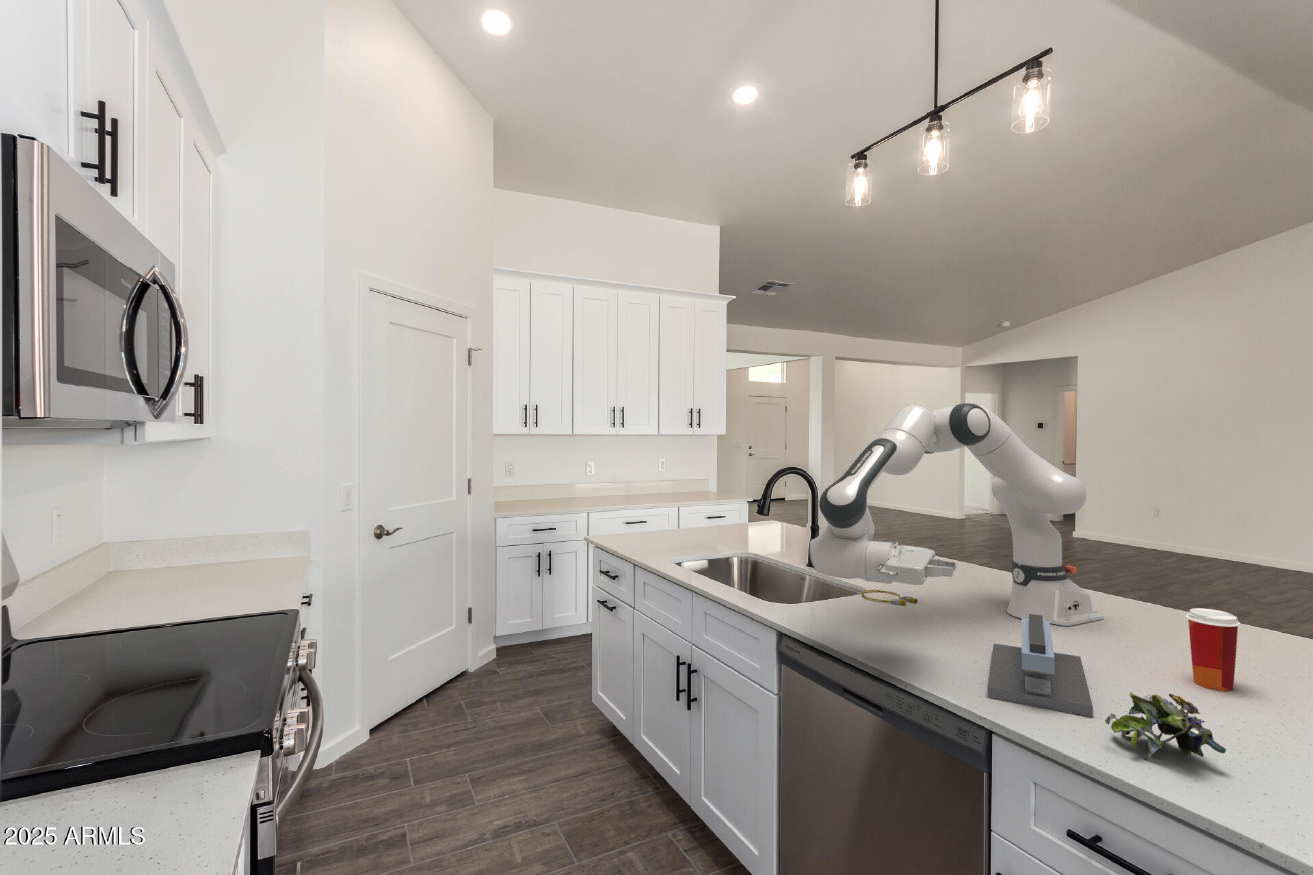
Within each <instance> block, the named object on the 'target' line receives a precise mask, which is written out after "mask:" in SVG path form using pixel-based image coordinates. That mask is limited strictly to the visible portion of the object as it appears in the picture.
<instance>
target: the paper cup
mask: <svg viewBox="0 0 1313 875" xmlns="http://www.w3.org/2000/svg"><path fill="white" fill-rule="evenodd" d="M1185 618H1186V619H1187V620H1188V632H1189V633H1188V634H1189V643H1190V644H1189V645H1190V655H1191V666H1192V667H1191V668H1192V676H1193V681H1194V684H1196V685H1198V686H1200V687H1203V688H1206V689H1209V690H1212V691H1213V690H1214V691H1220V692H1231V691H1233V690H1234V686H1235V685H1234V683H1235V673H1236V658H1237V645H1238V644H1237V643H1238V629H1239V627H1240V626H1241V623H1240V621H1239V620H1238V616H1236V615H1234V614H1232V613H1229V612H1226V611H1222V610H1219V609H1218V610H1217V609H1210V608H1199V607H1197V608H1191V609H1189V611H1188V612H1187V614H1186V615H1185Z"/></svg>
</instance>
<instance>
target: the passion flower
mask: <svg viewBox="0 0 1313 875" xmlns="http://www.w3.org/2000/svg"><path fill="white" fill-rule="evenodd" d="M1148 696H1149V697H1148ZM1129 697H1130V698H1131V700H1132V701H1131V702H1132V703H1133V706H1131V707H1130V709H1129V711H1128V714H1124V715H1122V716H1121V717H1119V718H1116V717H1117V716H1116V714H1114V713H1112V712H1110V714H1109V716H1107V717H1106V719H1105V720H1104V721H1105V722H1104V723H1106V725H1110V723H1111V725H1110V728H1111V730H1112V731H1113V733H1114V734H1116V733H1121V735H1122V737H1126V736H1128V735H1130V734H1131V733H1132V732H1133V734H1132V737H1131V739H1130V742H1131V746H1132V748H1133V749H1136V747H1137V743H1138V740H1139V738H1141V737H1143V736H1144V737H1146V738H1147V746H1148V754H1147V756H1146V757H1145V758H1144V760H1145V761H1148V759H1150V758H1151V757H1152V755H1154V753H1155V752H1157V751H1159V749H1161V748H1162V749H1164V748H1165V746H1166V743H1168V742H1171V741H1172V740H1174V739H1175V740H1176V743H1177V746H1178V748H1179V749H1180V750H1181V751H1182V752H1183V753H1185V754H1189V755H1190V754H1192V753H1193V754H1195V755H1197V756H1199V757H1201V758H1203V757H1204V752H1203V750H1202V746H1204V745H1207V746H1209V747H1210V748H1211V749H1213V750H1214V751H1215V752H1218V753H1220V754H1226V751H1227V748H1225V747H1224V746H1222V745H1221V744H1219V743H1218V742H1216V741H1215V739H1214V737H1213V732H1212V731H1211V729H1210V728H1205V727H1204V726H1203V724H1202V723H1205V722H1206V721H1205V720H1202V719H1201V718H1198V717H1197V716H1190V715H1195V714H1196V715H1197V714H1198V715H1200V714H1201V712H1199V709H1198V708H1197V707H1196V706H1195V705H1194V703H1192V702H1191V701H1187V700H1185V698H1183V697H1182V696H1181V695H1175V694H1174V693H1173V694H1172V693H1168V697H1169V698H1170V699H1172V700H1173V701H1174V703H1176V705H1175V704H1174V703H1173V701H1170V700H1169V701H1168V699H1166V698H1165V697H1162V696H1161V695H1159V694H1152V695H1150V694H1148V695H1147V696H1146V695H1144V697H1140V696H1138V695H1136V694H1135V693H1134V692H1133V691H1130V692H1129ZM1177 705H1178V706H1180V708H1178V706H1177ZM1137 714H1138V715H1139V714H1141V715H1142V714H1143V715H1145V717H1143V716H1141V717H1138V716H1135V715H1137ZM1189 714H1190V715H1189ZM1112 719H1115V720H1114V721H1112V722H1111V720H1112ZM1154 725H1157V729H1158V730H1159V732H1160V733H1159V734H1158V735H1157V734H1156V733H1155V732H1154V731H1153V726H1154ZM1147 733H1148V734H1150V735H1151V736H1150V735H1148V734H1147ZM1162 735H1165V736H1170V737H1168V738H1166V739H1164V740H1161V738H1162Z"/></svg>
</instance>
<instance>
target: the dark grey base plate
mask: <svg viewBox="0 0 1313 875" xmlns="http://www.w3.org/2000/svg"><path fill="white" fill-rule="evenodd" d="M991 652H992V654H991V661H990V666H989V667H990V669H989V674H988V675H989V676H988V681H987V682H988V683H987V698H990V699H994V700H1000V701H1004V702H1005V701H1006V702H1009V701H1011V702H1010V703H1014V704H1015V703H1016V704H1020V705H1021V704H1022V705H1025V704H1026V706H1031V707H1035V706H1037V707H1036V708H1040V707H1041V708H1042V709H1046V708H1048V709H1047V710H1051V709H1052V710H1053V711H1056V710H1059V711H1058V712H1061V711H1063V712H1062V713H1066V712H1071V713H1073V714H1072V715H1077V714H1080V715H1079V716H1082V715H1084V716H1083V717H1087V716H1089V718H1092V717H1093V718H1094V706H1093V702H1092V698H1091V694H1090V693H1091V692H1090V691H1089V685H1088V682H1087V677H1086V674H1085V669H1084V667H1083V666H1084V665H1083V662H1082V658H1081V656H1079V655H1073V654H1067V653H1066V654H1065V653H1060V652H1054V659H1055V674H1049V673H1043V672H1037V671H1031V670H1025V669H1022V646H1021V647H1019V646H1014V645H1013V646H1012V645H1007V644H998V643H993V644H992V651H991ZM1071 713H1070V714H1071Z"/></svg>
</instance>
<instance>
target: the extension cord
mask: <svg viewBox="0 0 1313 875" xmlns="http://www.w3.org/2000/svg"><path fill="white" fill-rule="evenodd" d="M868 593H882V594H883V593H884V594H889V595H893V596H897V597H899V598H897V599H895V598H894V599H890V600H888V599H887V600H886V599H878V598H872V597H868V596H866V595H865V594H868ZM862 595H863V596H864V597H863V596H862ZM861 596H862V597H863V598H864V599H865V600H867V601H869V600H870V601H871V602H873V603H874V602H875V603H890V604H892V605H896V606H902V607H904V606H905V607H906V606H907V603H911V604H914V605H916V604H918V598H915V597H913V596H909V595H908V596H907V595H904V596H901V595H900V594H899V593H896V592H894V591H893V592H892V591H887V590H883V589H882V590H880V589H866V590H863V591H862V592H861Z"/></svg>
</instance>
